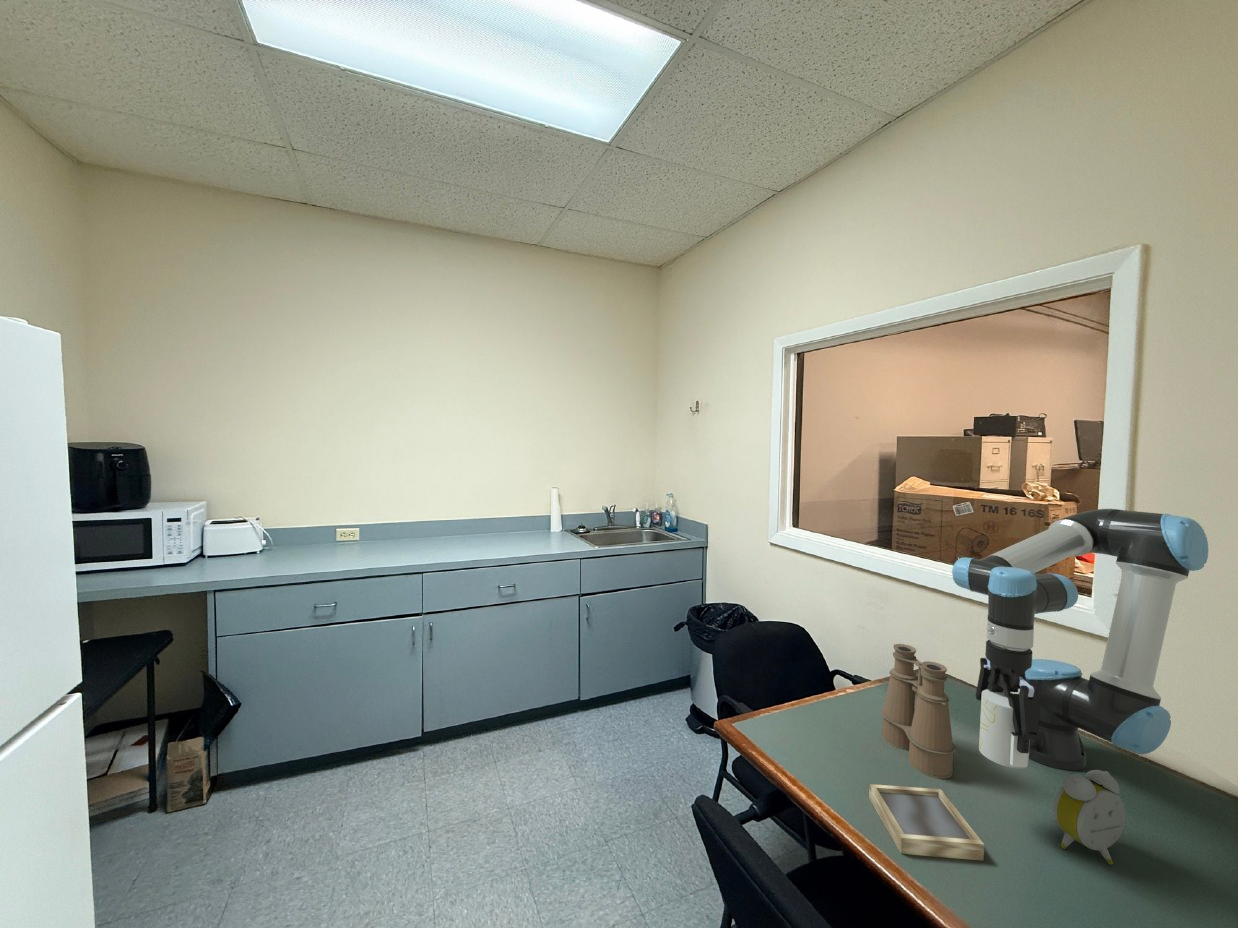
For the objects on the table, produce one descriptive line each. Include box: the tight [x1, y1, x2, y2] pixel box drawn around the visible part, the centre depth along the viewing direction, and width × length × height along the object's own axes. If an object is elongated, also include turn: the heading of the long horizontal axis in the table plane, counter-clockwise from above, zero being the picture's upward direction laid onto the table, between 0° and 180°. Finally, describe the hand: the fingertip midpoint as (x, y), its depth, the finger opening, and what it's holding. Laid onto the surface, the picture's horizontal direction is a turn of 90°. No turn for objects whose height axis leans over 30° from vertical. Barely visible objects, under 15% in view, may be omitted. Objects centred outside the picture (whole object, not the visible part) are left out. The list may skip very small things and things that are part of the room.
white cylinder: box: [978, 689, 1030, 769], centre depth 103 cm, size 8×8×12 cm
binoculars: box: [880, 643, 956, 779], centre depth 127 cm, size 21×10×25 cm, turn 6°
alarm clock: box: [1053, 769, 1127, 865], centre depth 97 cm, size 12×7×15 cm, turn 103°
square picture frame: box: [868, 783, 985, 862], centre depth 103 cm, size 15×15×3 cm
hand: (1003, 751), depth 103 cm, fingers closed on white cylinder, 8 cm apart
